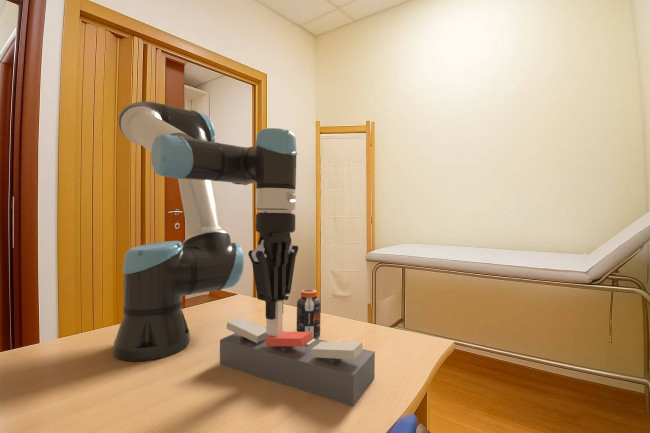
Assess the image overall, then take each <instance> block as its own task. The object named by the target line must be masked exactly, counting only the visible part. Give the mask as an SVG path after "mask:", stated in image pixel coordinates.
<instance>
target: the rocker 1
mask: <svg viewBox="0 0 650 433" xmlns="http://www.w3.org/2000/svg"><path fill="white" fill-rule="evenodd" d="M264 327H265V326H262V325H261V324H257V323H255V322H253V321H250V320H249V319H246V318H244V317H242V316H240V317H237V318H234V319H231V320H229V321H227V324H226V330H228V331H231V332H233V334H234V333H237V334H239V335H241V336H243V337H245V338H247V339H249V340H251V341H253V342H255V343H258V342H260V341H262V340H264V339H265V338H267V337H269V335H268V334H266V328H264Z"/></svg>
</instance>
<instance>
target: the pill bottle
mask: <svg viewBox="0 0 650 433" xmlns="http://www.w3.org/2000/svg"><path fill="white" fill-rule="evenodd" d="M321 305H322V304H321V300H320V299H319V298H318V291H317V290H316V289H313V288H312V289H311V288H309V289H308V288H307V289H306V288H305V289H302V290H300V297H299V299H298V300H297V301H296V332H312V336H313V338H315V339H319V337H320V336H321V318H322V316H321V310H322V308H321V307H322V306H321Z"/></svg>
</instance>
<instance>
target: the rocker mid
mask: <svg viewBox="0 0 650 433" xmlns="http://www.w3.org/2000/svg"><path fill="white" fill-rule="evenodd" d="M311 340H313V336H312V332H297V331H284V332H282V334H281V335H279V336H272V335H271V336H269V337H267V338H266V345H267V346H295V347H302V346H304V345H305V344H307V343H308V342H310V341H311Z"/></svg>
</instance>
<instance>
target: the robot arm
mask: <svg viewBox="0 0 650 433" xmlns="http://www.w3.org/2000/svg"><path fill="white" fill-rule="evenodd" d="M117 123H118V127H119V130H120V132H121V134H122V135H123V136H124V137H125V138H126V139H127V140H129V141H130V142H131V143H133V144H136V145H138V146H142V148H144V149H145V150H147V151H148V152H149V153H150V156H151V157H150V161H151V165H152V168H153V171H154V173H155V174H157V175H158V176H160V177H167V178H171V179H176V180H177V181H178V187H179V193H180V198H181V203H182V210H183V215H184V220H185V226H186V232H187V237H186V238H185V240H183V242H181V241H180V240H168V241H167V240H166V241H157V242H150V243H146V244H144V243H143V244H140V245H137V246H134V247H131V248H130V249H128V250H127V251H125V254H124V258H123V266H122V271H121V272H122V274H123V282H122V283H123V285H122V286H123V291H122V292H123V296H122V298H123V305H122V306H123V311H122V312H123V313H122V314H123V316H122V319H121V322H120V325H119V328H118V330H117V333H116V336H115V339H114V342H113V356H114V357H115V358H117V359H119V360H122V361H129V362H140V361H141V362H142V361H151V360H157V359H161V358H164V357H165V358H166V357H169V356H171V355H173V354H177V353H179V352H180V351H182V350H184V349H185V348H187V346H189V344H190V342H191V341H190V339H191V336H190V335H191V334H190V329H189V326H188V323H187V320H186V318H185V315H184V311H183V307H182V306H183V305H182V302H183V300H182V299H183V296H184V297H185V296H189V295H190V296H191V295H195V294H201V293H208V292H214V291H222V290H225V289H229V288H233V287H234V286H236V285H237V284H238V283H239V282H240V279H241V278H242V275H243V273H244V266H245V256H244V255H245V254H244V251H243V248H242V247H241V246H240V244H239V243H236V242H232V241H231V236H230V233H229V232H227V231H225V230H224V229H223V227H222V224H221V223H222V221H221V219H220V218H221V217H220V213H219V208H218V204H217V198H216V194H215V190H214V186H213V182H212V181H214V182H222V183H223V182H225V183H231V184H234V185H244V186H247V185H251V184H256V186H255V210H257V211H258V212H257V213H256V214H255V231H256V232H257V233H259V237H258V241H257V247H256V248H255V249H254V250H249V251H248V258H249V259H250V261H251V264H252V272H253V276H254V277H253V278H254V285H255V289H256V290H255V291H256V297H257V300H258V301H259V300H260V301H264V304H265V319H266V320H265V321H266V324H265V325H266V334H268V335H272V336H279V335H281V334H282V331H283V318H284V317H283V315H284V301H287V300H289V297H290V296H289V295H290V294H291V291H292V285H293V277H294V271H295V265H296V264H295V263H296V257H297V255H298V252H299V246H298V245H294V244H293V243H292V237H291V233H294V232H295V231H296V214H295V213H293V211H295V209H296V188H297V180H296V179H297V155H298V152H297V138H296V136H295V133H293V132H292V131H291V130H288V129H285V128H280V127H279V128H276V127H275V128H274V127H273V128H272V127H269V128H263V129H260V130H259V131H258V132H257V134H256V139H255V140H256V141H255V145H253V146H248V147H247V146H246V147H245V146H239V145H233V144H226V143H221V142H216V140H215V139H216V138H215V136H216V130H215V126H214V123H213V121H212V119H211V118H210V117H209V116H208V115H207V114H205V113H203V112H198V111H196V110H193V109H186V108H185V109H184V108H181V107H176V106H173V105H168V104H163V103H159V102H155V101H136V102H133V103H131V104H128V105H127V106H125V107H124V108H123V109H122V110H121V112H120V113H119V116H118V120H117Z"/></svg>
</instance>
